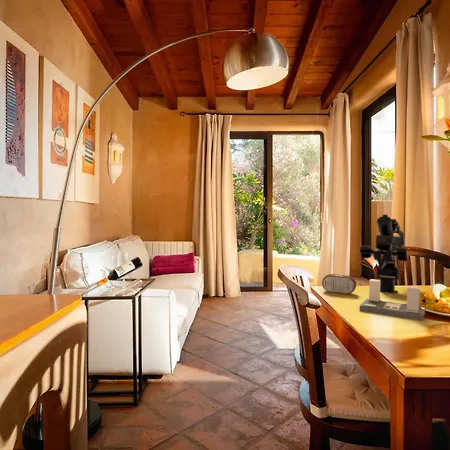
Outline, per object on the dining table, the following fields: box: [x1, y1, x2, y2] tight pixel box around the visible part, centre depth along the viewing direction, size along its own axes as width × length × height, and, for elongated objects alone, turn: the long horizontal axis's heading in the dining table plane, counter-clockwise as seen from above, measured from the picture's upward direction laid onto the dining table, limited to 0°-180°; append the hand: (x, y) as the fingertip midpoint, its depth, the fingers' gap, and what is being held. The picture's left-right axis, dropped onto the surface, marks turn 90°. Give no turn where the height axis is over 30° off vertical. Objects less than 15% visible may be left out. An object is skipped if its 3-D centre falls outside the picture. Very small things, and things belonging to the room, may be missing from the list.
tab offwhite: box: [368, 278, 381, 302], centre depth 138 cm, size 3×4×8 cm
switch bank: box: [359, 298, 426, 322], centre depth 131 cm, size 12×21×2 cm, turn 56°
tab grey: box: [406, 285, 420, 311], centre depth 125 cm, size 3×4×8 cm
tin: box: [321, 273, 357, 295], centre depth 161 cm, size 15×3×8 cm, turn 65°
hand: (380, 268), depth 147 cm, fingers closed
